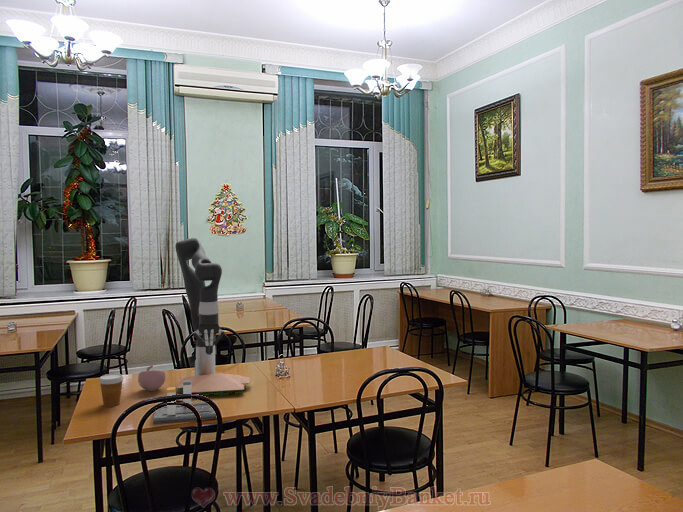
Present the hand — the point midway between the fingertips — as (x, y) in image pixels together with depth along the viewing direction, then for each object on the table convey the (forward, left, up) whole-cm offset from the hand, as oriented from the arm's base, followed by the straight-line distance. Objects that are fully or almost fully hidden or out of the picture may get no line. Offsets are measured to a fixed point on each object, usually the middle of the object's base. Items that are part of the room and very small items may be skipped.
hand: (209, 354), depth 208 cm
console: (-5, -8, -23) cm, 25 cm away
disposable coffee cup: (-41, -18, -24) cm, 50 cm away
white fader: (-8, -5, -22) cm, 24 cm away
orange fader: (-5, -15, -22) cm, 27 cm away
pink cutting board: (-20, +21, -24) cm, 38 cm away
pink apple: (-44, +4, -24) cm, 50 cm away
